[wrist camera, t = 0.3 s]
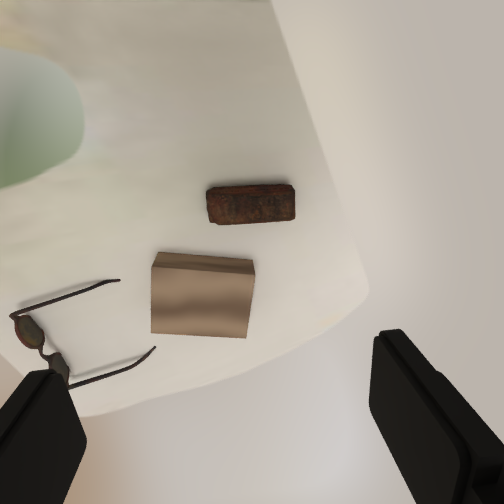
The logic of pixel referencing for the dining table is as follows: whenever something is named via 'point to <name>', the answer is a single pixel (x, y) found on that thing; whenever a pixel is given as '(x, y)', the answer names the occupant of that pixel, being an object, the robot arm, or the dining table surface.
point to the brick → (250, 204)
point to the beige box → (201, 295)
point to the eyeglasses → (35, 339)
